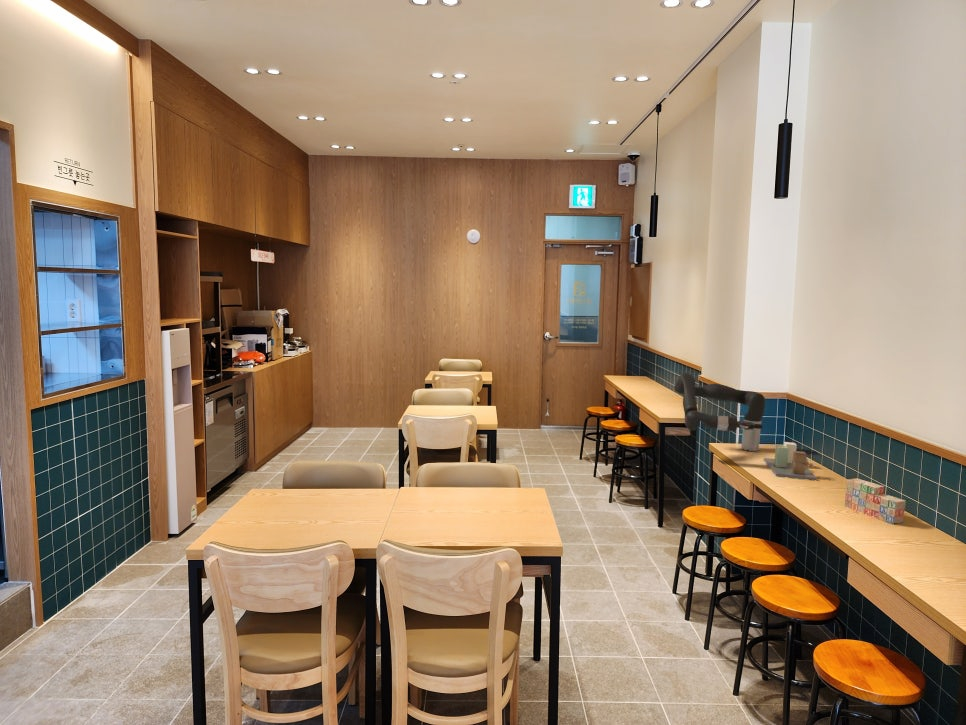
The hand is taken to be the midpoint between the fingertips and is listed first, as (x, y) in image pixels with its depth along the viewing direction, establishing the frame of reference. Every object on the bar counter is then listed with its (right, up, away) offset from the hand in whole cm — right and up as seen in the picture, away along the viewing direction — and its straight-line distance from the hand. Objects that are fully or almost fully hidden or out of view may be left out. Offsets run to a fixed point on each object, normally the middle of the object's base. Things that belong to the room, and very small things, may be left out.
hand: (762, 426), depth 327 cm
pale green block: (+9, -20, 0) cm, 22 cm away
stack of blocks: (+18, -30, -63) cm, 72 cm away
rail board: (+13, -22, 0) cm, 26 cm away
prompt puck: (+27, -21, +14) cm, 37 cm away
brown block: (+13, -21, -11) cm, 27 cm away
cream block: (+18, -19, +9) cm, 28 cm away
